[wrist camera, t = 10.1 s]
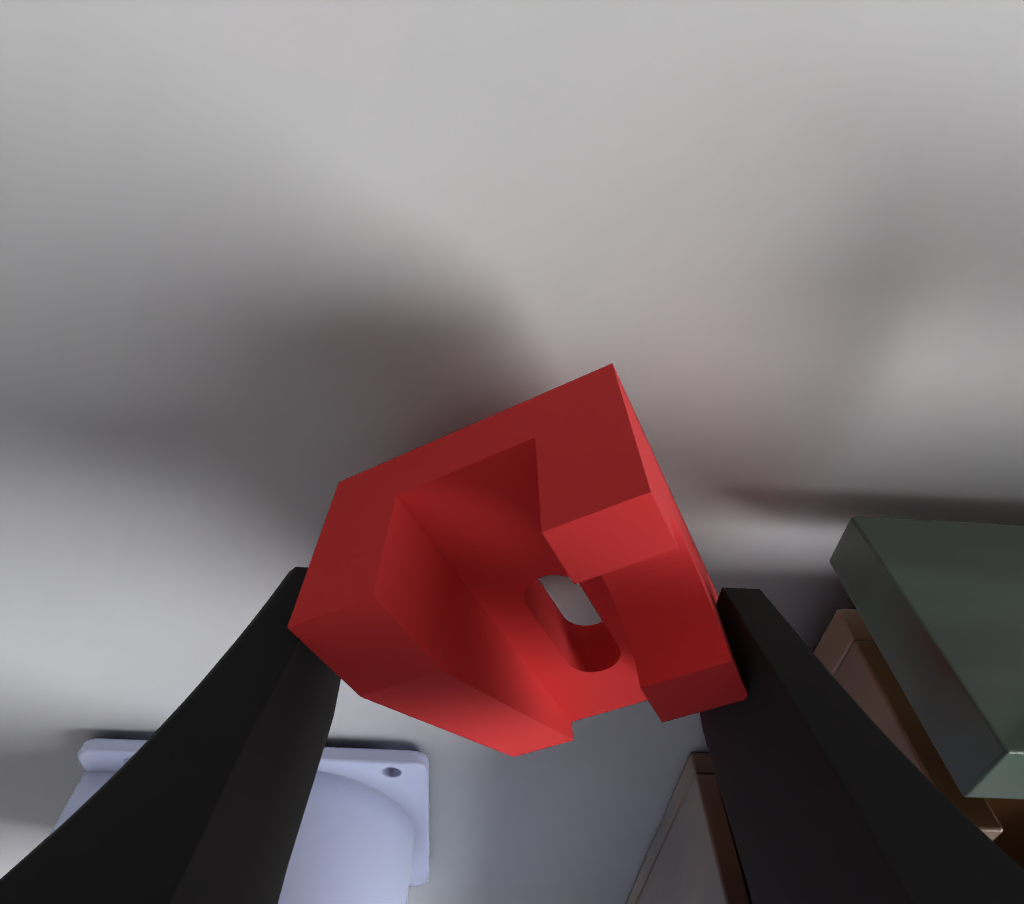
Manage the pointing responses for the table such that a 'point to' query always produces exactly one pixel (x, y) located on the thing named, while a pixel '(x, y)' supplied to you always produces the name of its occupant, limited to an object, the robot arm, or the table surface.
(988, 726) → the drawer
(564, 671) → the bracket
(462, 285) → the table surface
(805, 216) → the table surface
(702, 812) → the cabinet
